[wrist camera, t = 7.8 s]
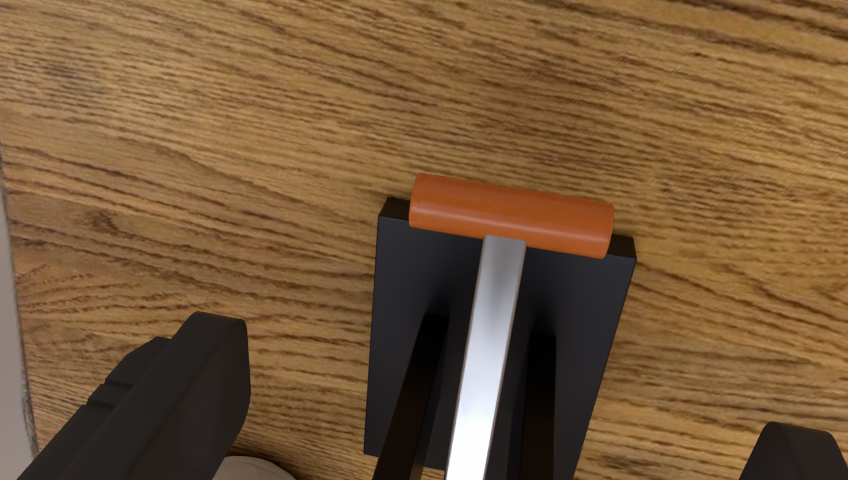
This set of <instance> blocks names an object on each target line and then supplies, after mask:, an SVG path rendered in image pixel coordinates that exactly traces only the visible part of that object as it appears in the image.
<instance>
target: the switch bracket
mask: <svg viewBox="0 0 848 480" xmlns="http://www.w3.org/2000/svg"><path fill="white" fill-rule="evenodd" d="M409 209H410V201H404V200H398V199H392V198H387V200H386V202H385V204H384V206H383V208H382V210H381V211H380V213H379V215H378V225H377V242H376V258H375V274H374V290H373V306H372V322H371V338H370V354H369V370H368V386H367V402H366V418H365V435H364V451H363V453H364V454H366V455H370V456H375V457H379V459H378V462H377V465H376V468H375V471H374V475H373V478H372V480H421V476H422V471H423V467H428V468H433V469H438V470H443V471H445V468H446V462H447V456H448V450H449V444H450V438H451V432H452V426H453V420H454V414H455V408H456V402H457V396H458V390H459V384H460V378H461V372H462V366H463V360H464V353H465V347H466V341H467V335H468V329H469V323H470V317H471V311H472V305H473V299H474V293H475V287H476V281H477V275H478V269H479V263H480V257H481V251H482V245H483V239H478V238H472V237H467V236H461V235H455V234H449V233H443V232H437V231H431V230H425V229H419V228H413V227H411V226H410V224H409ZM636 261H637V256H636V251H635V245H634V240H633V238H631V237H625V236H619V235H613V234H612V235H611V239H610V243H609V247H608V250H607V253H606V255H605V257H604V258H603V259H598V258H592V257H586V256H580V255H574V254H568V253H562V252H556V251H550V250H544V249H538V248H532V247H526V253H525V259H524V264H523V270H522V276H521V281H520V287H519V293H518V299H517V304H516V310H515V316H514V321H513V327H512V333H511V338H510V344H509V350H508V355H507V361H506V367H505V372H504V378H503V384H502V389H501V395H500V401H499V406H498V412H497V418H496V423H495V429H494V435H493V441H492V446H491V452H490V458H489V463H488V469H487V475H486V480H573V477H574V473H575V470H576V467H577V463H578V460H579V456H580V453H581V449H582V446H583V443H584V439H585V436H586V432H587V429H588V425H589V422H590V419H591V415H592V412H593V408H594V405H595V401H596V398H597V395H598V391H599V388H600V384H601V381H602V377H603V374H604V371H605V367H606V364H607V360H608V357H609V353H610V350H611V347H612V343H613V340H614V336H615V333H616V329H617V326H618V323H619V319H620V316H621V312H622V309H623V305H624V302H625V299H626V295H627V292H628V288H629V285H630V281H631V278H632V275H633V271H634V268H635V264H636Z"/></svg>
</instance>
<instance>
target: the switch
mask: <svg viewBox="0 0 848 480" xmlns="http://www.w3.org/2000/svg"><path fill="white" fill-rule="evenodd" d="M613 222H614V206H613V204H612V203H609V202H602V201H596V200H590V199H583V198H577V197H571V196H564V195H558V194H552V193H545V192H539V191H533V190H526V189H520V188H514V187H508V186H501V185H495V184H489V183H482V182H476V181H470V180H463V179H457V178H451V177H444V176H438V175H432V174H425V173H418V175H417V177H416V179H415V182H414V186H413V190H412V195H411V201H410V209H409V224H410V226H411V227H413V228H419V229H425V230H431V231H437V232H443V233H449V234H455V235H461V236H467V237H472V238H478V239H483V245H482V251H481V257H480V263H479V269H478V275H477V281H476V287H475V293H474V299H473V305H472V311H471V317H470V323H469V329H468V335H467V341H466V347H465V353H464V360H463V366H462V372H461V378H460V384H459V390H458V396H457V402H456V408H455V414H454V420H453V426H452V432H451V438H450V444H449V450H448V456H447V462H446V468H445V474H444V480H486V475H487V469H488V463H489V458H490V452H491V446H492V441H493V435H494V429H495V423H496V418H497V412H498V406H499V401H500V395H501V389H502V384H503V378H504V372H505V367H506V361H507V355H508V350H509V344H510V338H511V333H512V327H513V321H514V316H515V310H516V304H517V299H518V293H519V287H520V281H521V276H522V270H523V264H524V259H525V253H526V247H532V248H538V249H544V250H550V251H556V252H562V253H568V254H574V255H580V256H586V257H592V258H598V259H603V258H604V257H605V255H606V253H607V250H608V247H609V243H610V239H611V235H612V229H613Z"/></svg>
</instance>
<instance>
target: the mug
mask: <svg viewBox="0 0 848 480" xmlns="http://www.w3.org/2000/svg"><path fill="white" fill-rule="evenodd" d="M212 480H296V479H295V478H294V477H293V476H292V475H291V474H290V473H288V472H286V471H285V470H283V469H281V468H280V467H278V466H276V465H275V464H273V463H271V462H269V461H266V460H263V459H260V458H254V457H247V456H230V457H225V458H224V460H223V462H222V464H221V465H220V467H219V469H218V471H217V472H216V474H215V476H214V478H213V479H212Z"/></svg>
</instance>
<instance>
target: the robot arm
mask: <svg viewBox="0 0 848 480" xmlns="http://www.w3.org/2000/svg"><path fill="white" fill-rule="evenodd" d="M250 396H251V385H250V369H249V353H248V337H247V327H246V324H245V322H244V320H242V319H238V318H233V317H227V316H222V315H217V314H212V313H206V312H201V311H197V312H194V313H193V314H192V315H191V316H190V317H189V318H188V319H187V320H186V321H185V323H184V324H183V325H182V326H181V327H180V329H179V330H178V331H177V332H176V334H175V335H174V336H173V337H172V338H171V339H168V338H163V337H158V336H157V337H155V338H154V339H152V340H150V341H149V342H147V343H145V344H144V345H142V346H140V347H139V348H137V349H135V350H134V351H132V352H130V353H129V354H127V355H126V356H125V357H124V358H123V359H122V361H121V362H120V363H119V364H118V365H117V366H116V367H115V369H114V370H113V371H112V372H111V373H110V374H109V375H108V376H107V378H106V379H105V383H104V384H100V386H99V387H98V388H97V389H96V390H95V391H94V392H93V393H92V395H91V396H90V397H89V398H88V401H87V404H86V405H84V404H83V405H82V406H81V407H80V408H79V409H78V410H77V412H76V413H75V414H74V415H73V416H72V417H71V418H70V420H69V421H68V422H67V423H66V424H65V425H64V426H63V428H62V429H61V430H60V431H59V432H58V433H57V434H56V435H55V437H54V438H53V439H52V440H51V441H50V442H49V443H48V445H47V446H46V447H45V448H44V449H43V450H42V451H41V452H40V454H39V455H38V456H37V457H36V458H35V459H34V460H33V462H32V463H31V464H30V465H29V466H28V467H27V468H26V470H25V471H24V472H23V473H22V474H21V475H20V476H19V477H18V479H17V480H212V479H213V478H214V476H215V474H216V472H217V471H218V469H219V467H220V465H221V464H222V462H223V460H224V458H225V457H226V455H227V453H228V451H229V449H230V448H231V446H232V444H233V442H234V441H235V439H236V437H237V435H238V434H239V432H240V430H241V428H242V426H243V424H244V421H245V419H246V415H247V412H248V408H249V403H250ZM739 480H848V467H847V465H846V462H845V460H844V458H843V456H842V454H841V451H840V449H839V447H838V445H837V443H836V441H835V439H834V437H833V436H832V435H831V434H830V433H829V432H826V431H822V430H816V429H811V428H806V427H801V426H795V425H790V424H785V423H779V422H769V423H768V424H767V425H766V426H765V427H764V428H763V430H762V432H761V434H760V436H759V438H758V440H757V443H756V445H755V447H754V449H753V451H752V453H751V455H750V457H749V459H748V461H747V463H746V466H745V468H744V470H743V472H742V474H741V476H740V478H739Z"/></svg>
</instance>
